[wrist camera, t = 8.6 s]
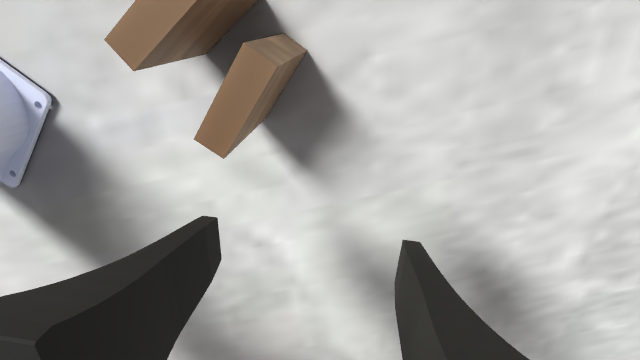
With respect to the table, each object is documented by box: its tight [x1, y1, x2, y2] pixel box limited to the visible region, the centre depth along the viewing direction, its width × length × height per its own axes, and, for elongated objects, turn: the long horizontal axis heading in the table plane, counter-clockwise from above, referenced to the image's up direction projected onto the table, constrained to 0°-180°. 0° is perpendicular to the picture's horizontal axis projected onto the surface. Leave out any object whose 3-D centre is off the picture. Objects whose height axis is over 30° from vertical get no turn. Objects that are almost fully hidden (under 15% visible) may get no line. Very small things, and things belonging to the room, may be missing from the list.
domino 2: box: [194, 34, 307, 159], centre depth 18 cm, size 2×5×7 cm, turn 146°
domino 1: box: [104, 0, 258, 71], centre depth 17 cm, size 2×5×7 cm, turn 129°
